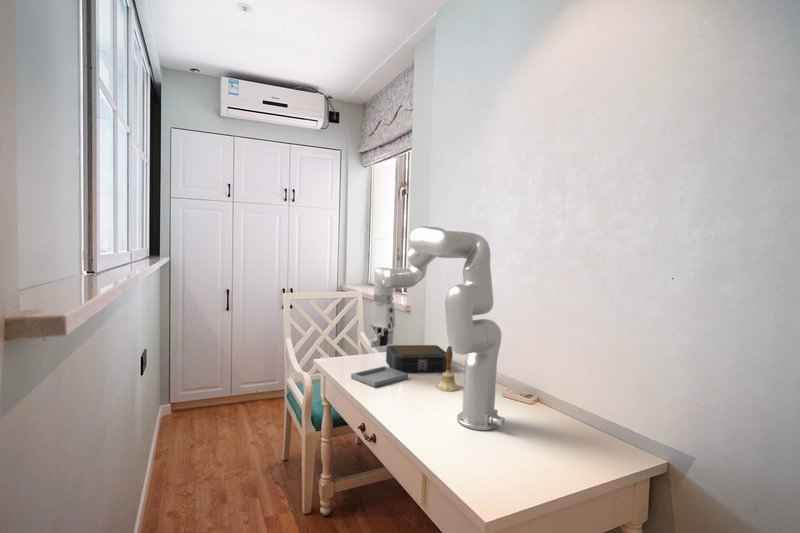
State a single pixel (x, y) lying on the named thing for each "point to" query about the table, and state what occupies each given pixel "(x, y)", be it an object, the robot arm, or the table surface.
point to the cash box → (416, 358)
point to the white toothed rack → (377, 340)
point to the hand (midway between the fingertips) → (381, 344)
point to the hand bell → (448, 375)
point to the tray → (379, 376)
